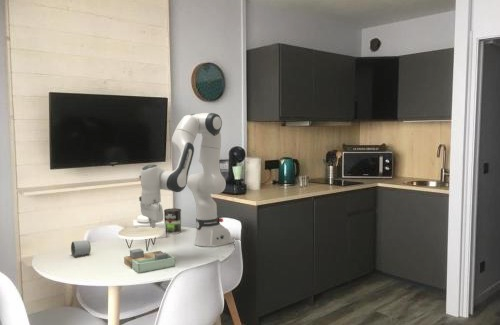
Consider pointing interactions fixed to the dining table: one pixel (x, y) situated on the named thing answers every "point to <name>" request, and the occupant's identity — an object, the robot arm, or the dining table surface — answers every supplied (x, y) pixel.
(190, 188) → the robot arm
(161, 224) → the butter dish
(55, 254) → the dining table surface
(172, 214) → the coffee can
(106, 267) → the dining table surface
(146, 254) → the board
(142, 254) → the tile
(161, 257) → the tile
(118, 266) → the dining table surface
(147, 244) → the dining table surface
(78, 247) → the ceramic mug
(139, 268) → the tray
